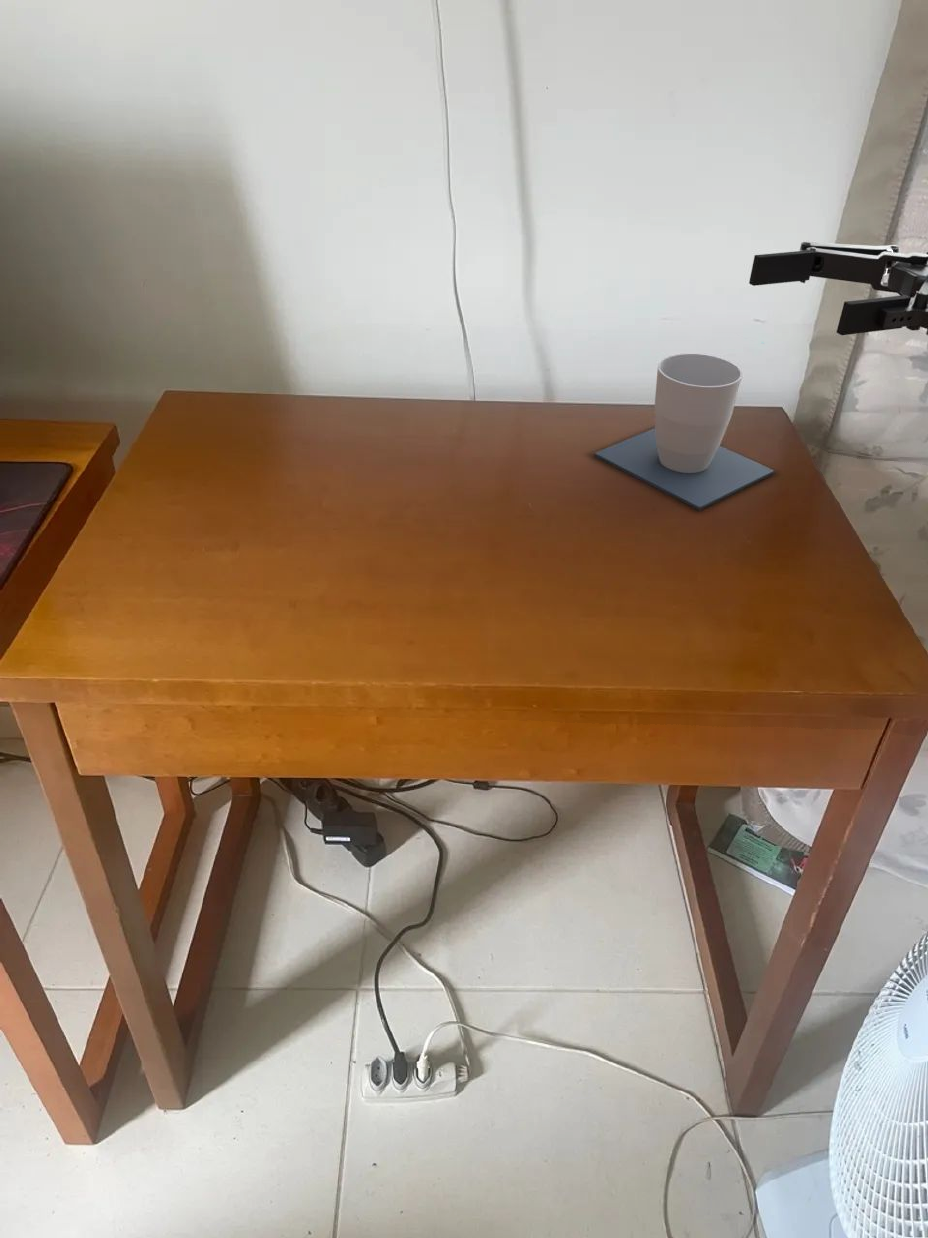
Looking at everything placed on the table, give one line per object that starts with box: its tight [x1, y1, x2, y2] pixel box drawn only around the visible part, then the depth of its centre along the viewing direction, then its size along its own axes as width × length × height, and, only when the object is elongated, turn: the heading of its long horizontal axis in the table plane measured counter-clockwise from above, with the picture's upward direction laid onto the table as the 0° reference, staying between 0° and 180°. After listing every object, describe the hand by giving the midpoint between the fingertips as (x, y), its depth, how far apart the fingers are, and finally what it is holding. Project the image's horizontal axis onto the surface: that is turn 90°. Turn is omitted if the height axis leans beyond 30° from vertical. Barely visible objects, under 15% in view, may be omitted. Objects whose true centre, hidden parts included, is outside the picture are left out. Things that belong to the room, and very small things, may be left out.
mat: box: [593, 427, 775, 511], centre depth 102 cm, size 14×12×1 cm
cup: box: [654, 353, 743, 473], centre depth 98 cm, size 8×8×10 cm
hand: (795, 293), depth 90 cm, fingers open, 13 cm apart
